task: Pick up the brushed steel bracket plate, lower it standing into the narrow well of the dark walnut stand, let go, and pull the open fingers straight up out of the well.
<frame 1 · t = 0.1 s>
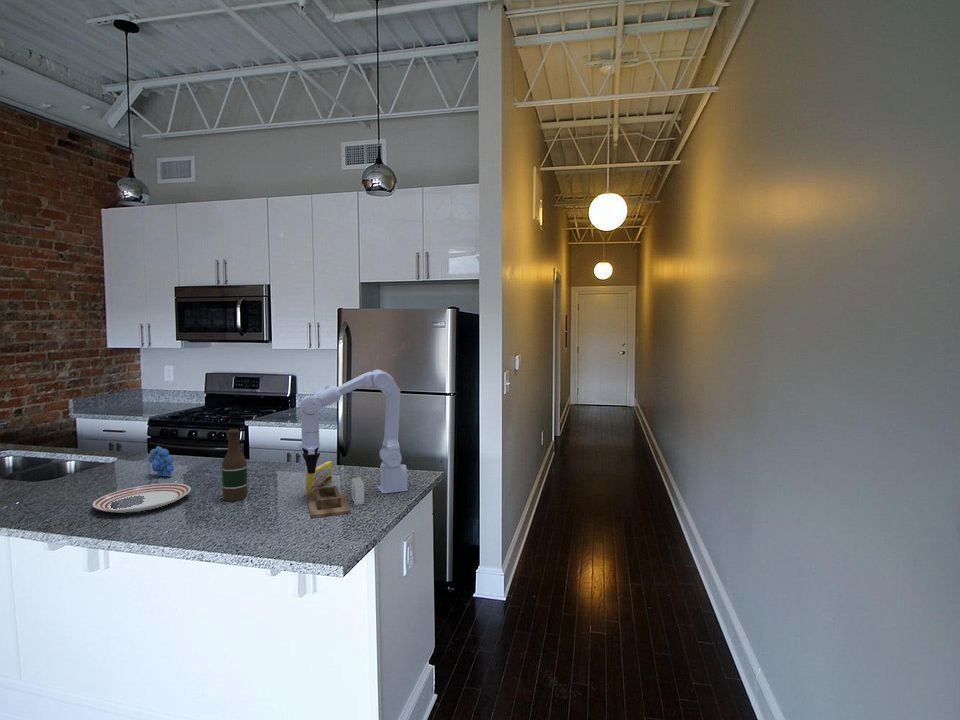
hand: (311, 470, 178), 10 cm above the countertop, tool pointing down, fingers open, 7 cm apart
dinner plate: (144, 504, 173), on the countertop
walnut well stand: (327, 504, 173), on the countertop
grapes: (159, 477, 202), on the countertop
candy box: (319, 489, 190), on the countertop
beer bottle: (235, 498, 179), on the countertop
steel bracket: (357, 501, 176), on the countertop
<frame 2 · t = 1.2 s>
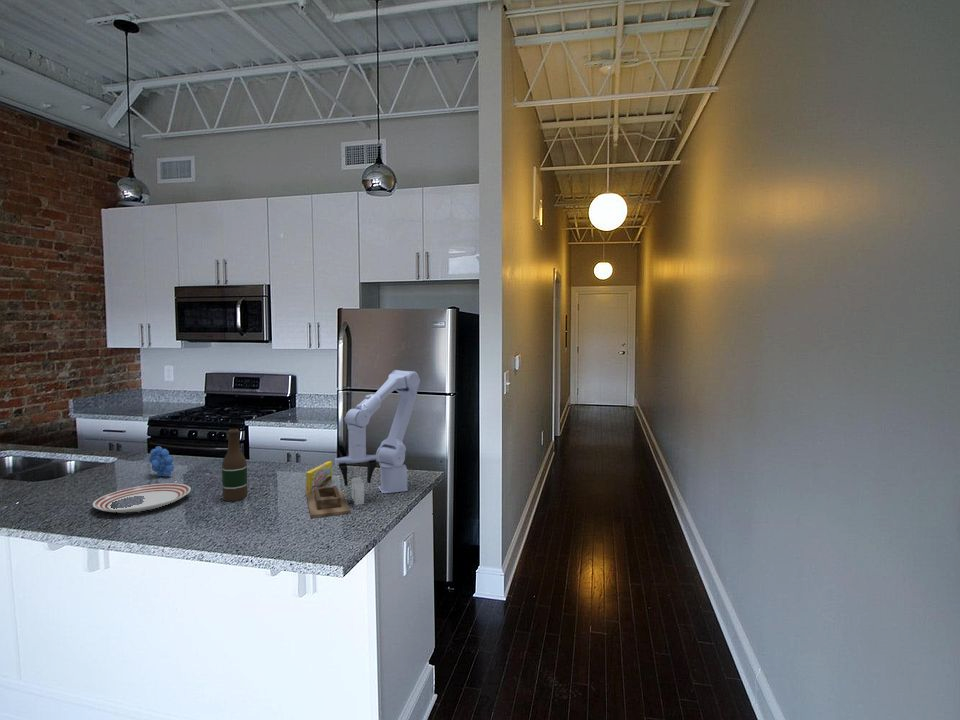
hand: (357, 483, 176), 6 cm above the countertop, tool pointing down, fingers open, 7 cm apart
nothing on the countertop moved.
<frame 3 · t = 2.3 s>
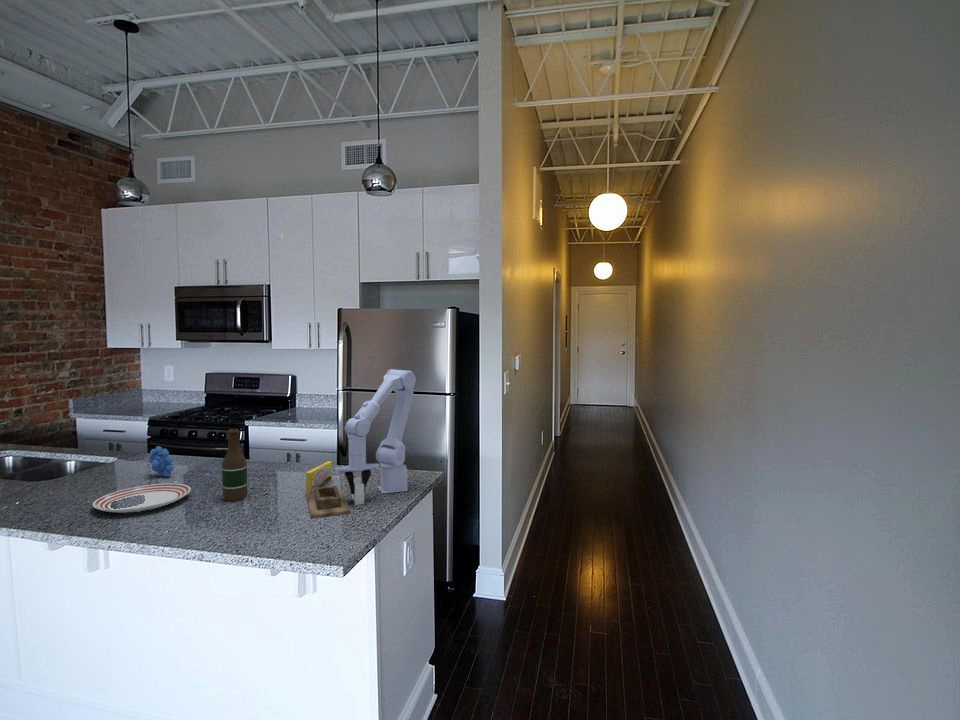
hand: (357, 492, 176), 3 cm above the countertop, tool pointing down, fingers closed on steel bracket, 3 cm apart
steel bracket: (357, 501, 176), on the countertop, touching gripper
everything else where it was.
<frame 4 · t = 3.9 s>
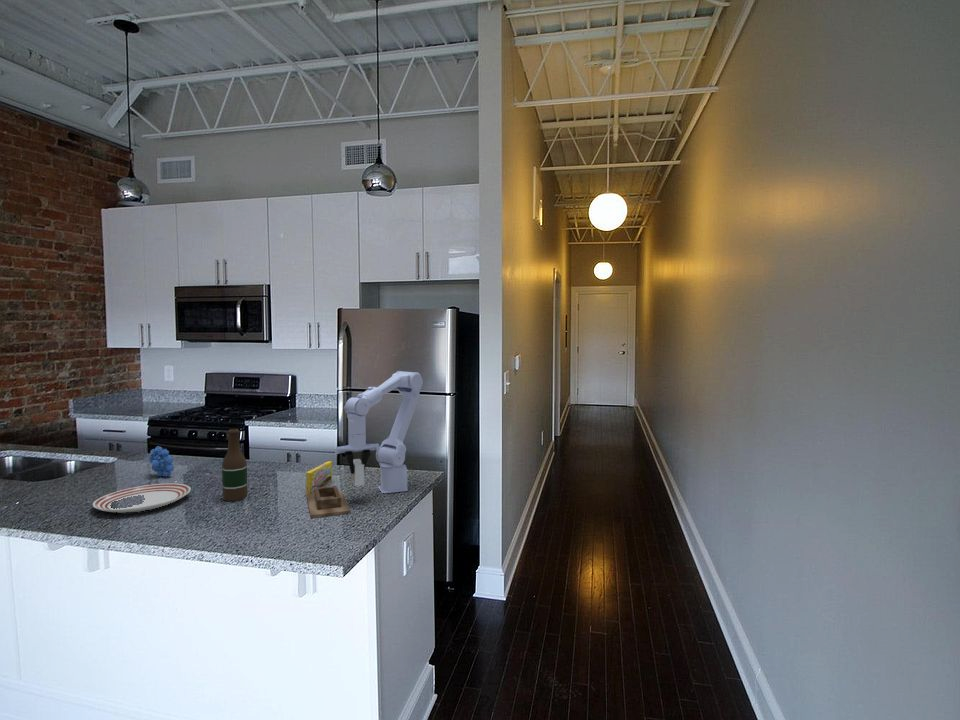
hand: (357, 472, 176), 10 cm above the countertop, tool pointing down, fingers closed on steel bracket, 3 cm apart
steel bracket: (357, 482, 176), point 7 cm above the countertop, touching gripper
everything else where it was.
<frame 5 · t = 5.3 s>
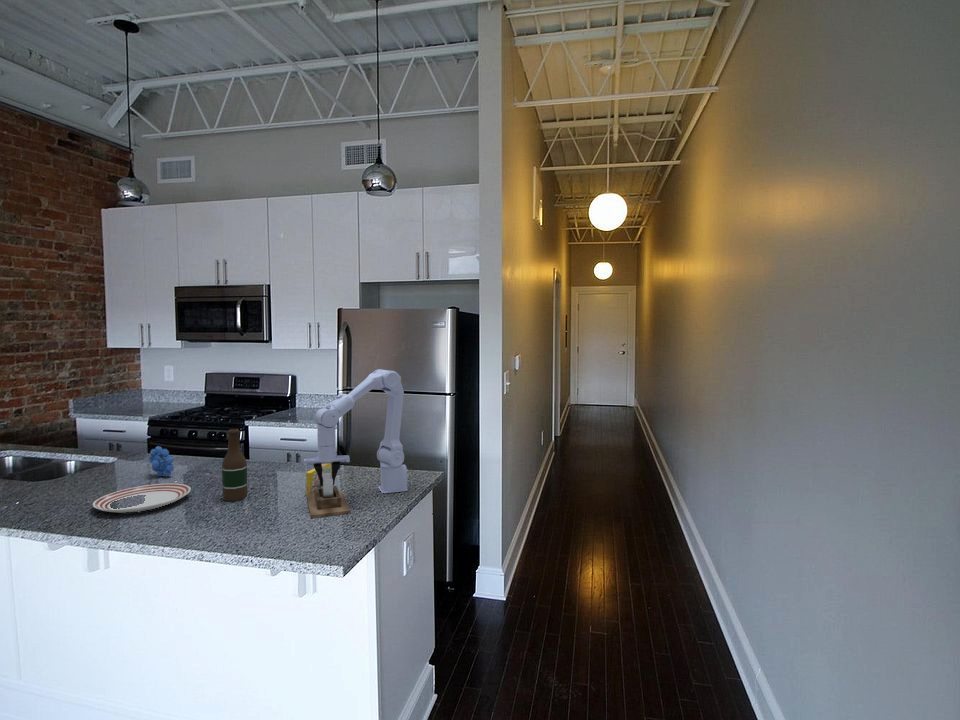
hand: (327, 484, 172), 7 cm above the countertop, tool pointing down, fingers closed on steel bracket, 3 cm apart
steel bracket: (327, 496, 173), point 3 cm above the countertop, touching gripper
everything else where it was.
when the fingers open (5 cm above the countertop, at t = 5.9 s): steel bracket stays where it is, resting on walnut well stand.
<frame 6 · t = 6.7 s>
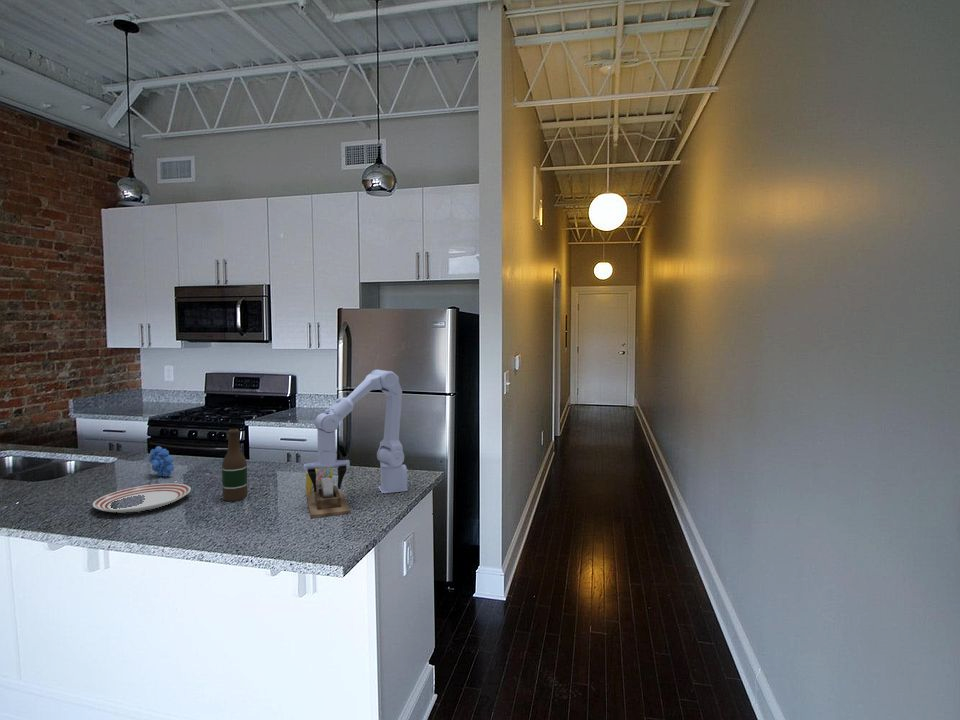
hand: (327, 489, 172), 5 cm above the countertop, tool pointing down, fingers open, 7 cm apart
steel bracket: (327, 501, 173), point 1 cm above the countertop, touching walnut well stand
everything else where it was.
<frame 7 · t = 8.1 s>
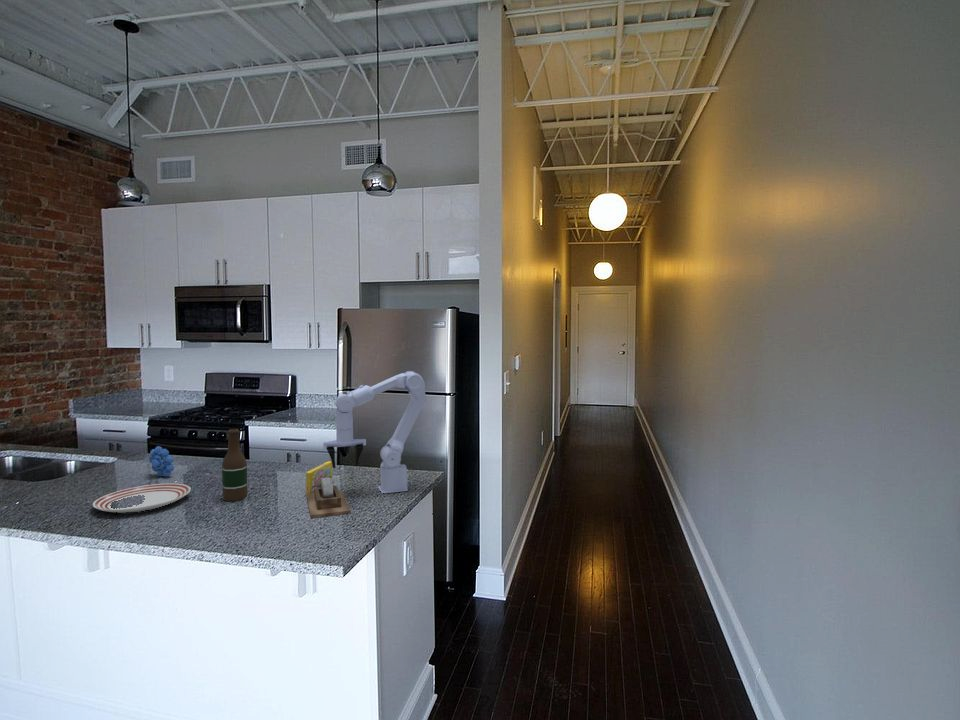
hand: (345, 466, 183), 10 cm above the countertop, tool pointing down, fingers open, 7 cm apart
nothing on the countertop moved.
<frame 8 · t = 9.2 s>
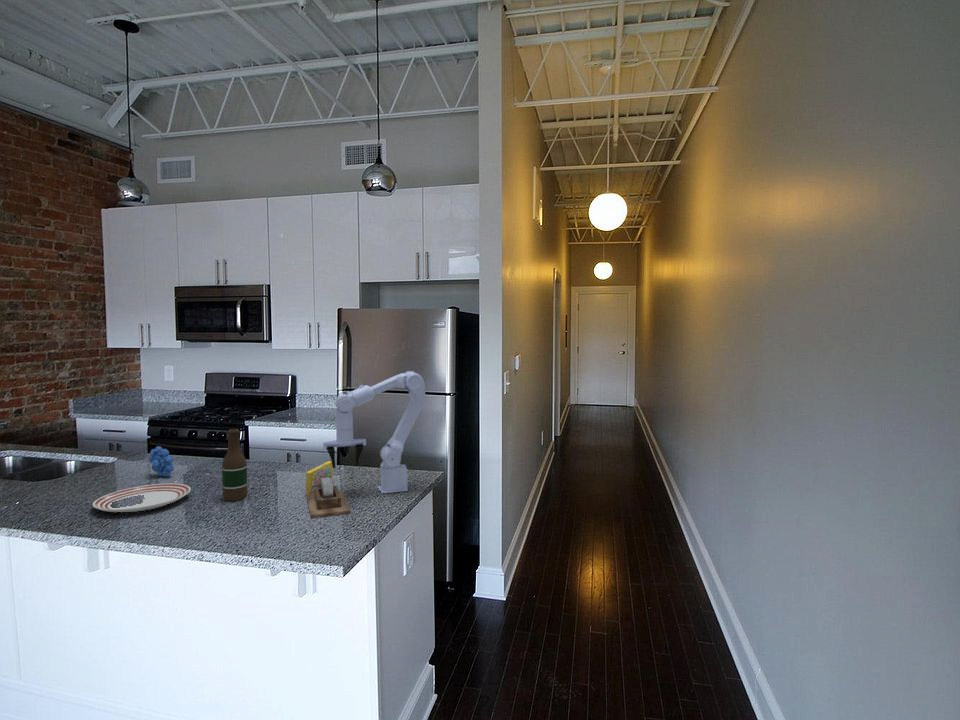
hand: (345, 466, 183), 10 cm above the countertop, tool pointing down, fingers open, 7 cm apart
nothing on the countertop moved.
at the end: steel bracket 0.1 cm off-centre on the walnut well stand, point 1.0 cm above the walnut well stand's base; steel bracket tilted 0°; the gripper is holding nothing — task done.
